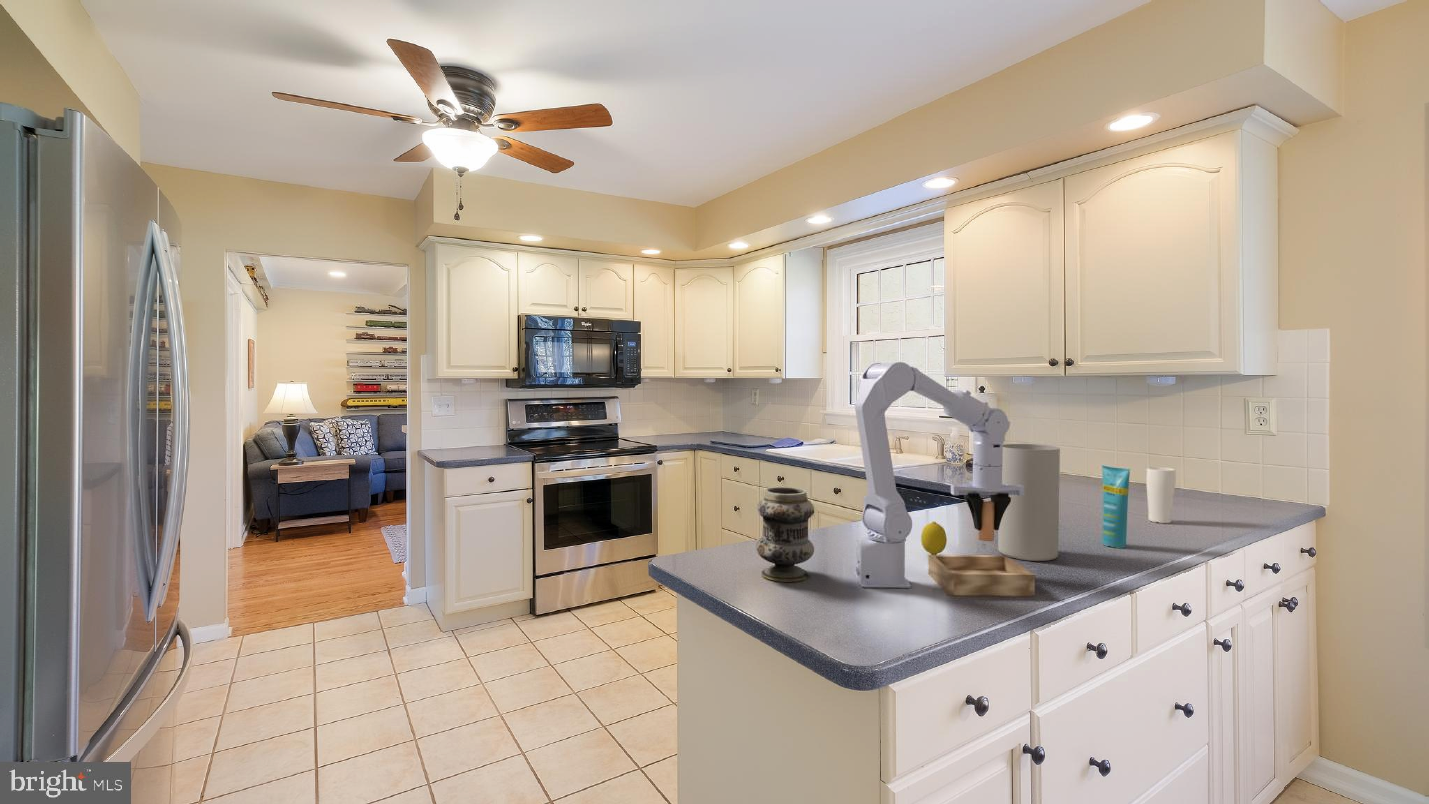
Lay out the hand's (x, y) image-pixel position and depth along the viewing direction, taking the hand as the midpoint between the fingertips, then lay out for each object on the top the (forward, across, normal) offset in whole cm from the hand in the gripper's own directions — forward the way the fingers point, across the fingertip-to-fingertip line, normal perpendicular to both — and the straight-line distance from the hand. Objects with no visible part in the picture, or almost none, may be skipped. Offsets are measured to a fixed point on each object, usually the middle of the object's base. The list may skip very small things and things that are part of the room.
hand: (986, 529), depth 136 cm
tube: (+9, -39, -22) cm, 45 cm away
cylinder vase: (+9, -15, -14) cm, 22 cm away
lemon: (+9, +7, -12) cm, 17 cm away
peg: (+2, 0, 0) cm, 2 cm away
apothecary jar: (+10, +42, +3) cm, 44 cm away
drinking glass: (+9, -66, -47) cm, 82 cm away
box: (+9, +4, +8) cm, 13 cm away
